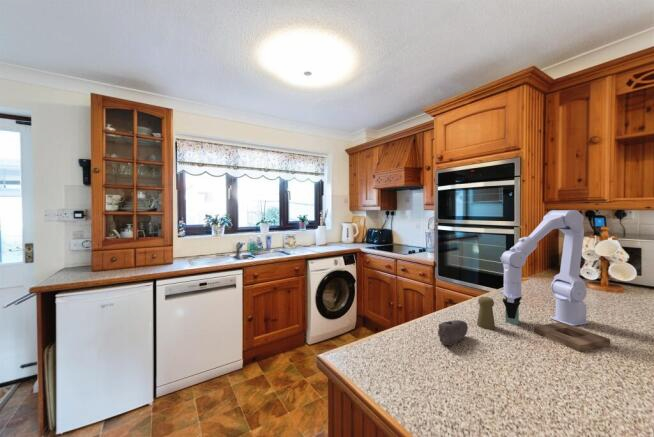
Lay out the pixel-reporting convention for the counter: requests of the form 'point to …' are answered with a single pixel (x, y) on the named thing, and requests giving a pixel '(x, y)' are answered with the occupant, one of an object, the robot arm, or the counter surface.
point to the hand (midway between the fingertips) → (512, 315)
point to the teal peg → (513, 321)
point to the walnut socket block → (579, 343)
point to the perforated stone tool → (452, 331)
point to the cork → (486, 313)
